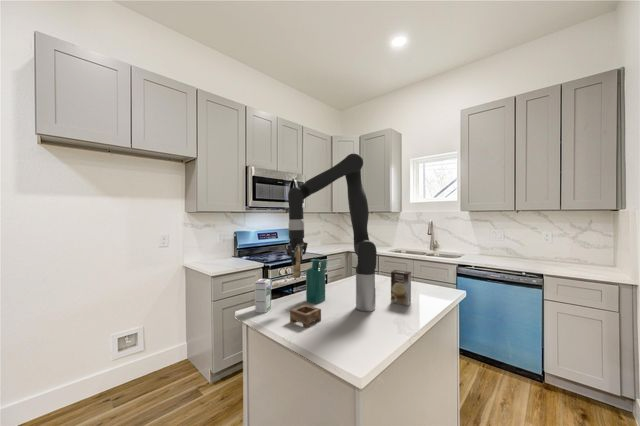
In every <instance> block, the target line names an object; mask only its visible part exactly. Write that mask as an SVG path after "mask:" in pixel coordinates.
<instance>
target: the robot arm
mask: <svg viewBox="0 0 640 426" xmlns="http://www.w3.org/2000/svg"><path fill="white" fill-rule="evenodd" d="M363 166H364V159H363V157H362V156H361V155H360V154H358V153H355V152H353V153H350V154H348V155H347V156H346V157H344V158H343V159H342V160H341V161H339V162H338V163H336V164H335V165H334V166H331V167H330V168H328V169H326V170H324V171H323V172H321V173H319V174H317V175H314V176H313V177H310V178H309V179H308V180H306V181H304V183H302V184H300V185H298V186H294V187H292V188H290V189H289V190H288V193H287V194H288V195H287V200H288V201H287V202H288V208H289V209H288V239H289V242H288V244H285V245H284V248H285V251H286V254H287V257H290V260H291V261H290V263H291V264H290V265H292V266H293V265H296V253H297V249H298V245H299V244H300V265H302V264H303V255H306V252H307V248H308V242H306V241H304V239H305V222H304V221H305V220H304V208H303V205H304V204H303V202H304V201H303V200H305V199H307V198H308V197H310V196H311V195H313V194H315V193H318V192H319V191H321V190H323V189H325V188H326V187H328V186H329V185H331V184H332V183H333V182H335V181H337V180H338V179H341V178H342V177H344V176H345V180H346V181H345V182H346V187H347V202H348V211H349V215H350V216H349V217H350V221H351V226H352V233H353V250H354V253H355V254H356V256H357V265H356V267H355V309H356V310H358V311H360V312H373V311H375V310H376V269H377V259H378V258H377V256H378V255H377V252H378V251H377V247H376V245H375V243H374V242H373V241H371V240H370V238H369V232H368V231H369V230H368V225H369V224H368V223H369V222H368V221H369V203H368V199H367V194H366V192H365V189H364V187H363V182H362V174H361V173H362V171H361V170H362V168H363ZM293 250H295V251H293ZM293 252H294V255H293Z"/></svg>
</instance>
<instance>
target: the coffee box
mask: <svg viewBox="0 0 640 426" xmlns="http://www.w3.org/2000/svg"><path fill="white" fill-rule="evenodd" d="M411 290H412V272H411V271H407V270H401V269H393V270H392V271H391V272H390V303H393V304H396V305H397V304H399V305H403V306H409V305H410V304H411V303H412V299H411V298H412V291H411Z"/></svg>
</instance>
